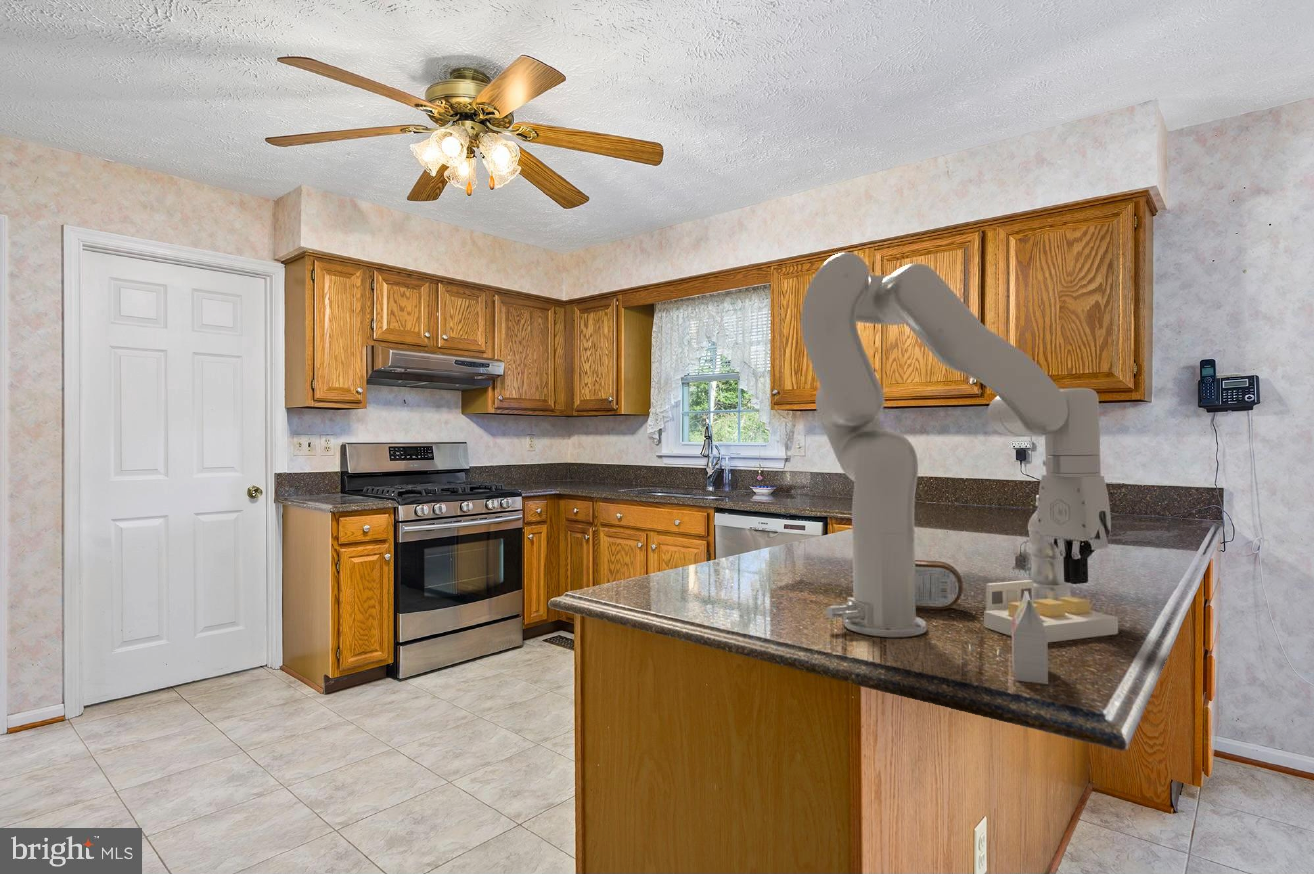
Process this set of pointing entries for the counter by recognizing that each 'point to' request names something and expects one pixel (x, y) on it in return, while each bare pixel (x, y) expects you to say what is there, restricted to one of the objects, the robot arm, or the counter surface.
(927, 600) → the tin
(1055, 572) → the plastic bottle
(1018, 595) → the card
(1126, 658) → the counter surface
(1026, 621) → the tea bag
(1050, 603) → the button mid
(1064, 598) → the button far
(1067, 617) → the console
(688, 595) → the counter surface
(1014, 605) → the button near
